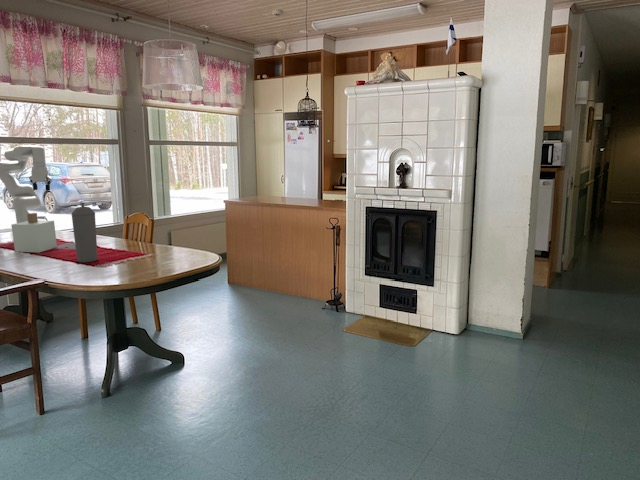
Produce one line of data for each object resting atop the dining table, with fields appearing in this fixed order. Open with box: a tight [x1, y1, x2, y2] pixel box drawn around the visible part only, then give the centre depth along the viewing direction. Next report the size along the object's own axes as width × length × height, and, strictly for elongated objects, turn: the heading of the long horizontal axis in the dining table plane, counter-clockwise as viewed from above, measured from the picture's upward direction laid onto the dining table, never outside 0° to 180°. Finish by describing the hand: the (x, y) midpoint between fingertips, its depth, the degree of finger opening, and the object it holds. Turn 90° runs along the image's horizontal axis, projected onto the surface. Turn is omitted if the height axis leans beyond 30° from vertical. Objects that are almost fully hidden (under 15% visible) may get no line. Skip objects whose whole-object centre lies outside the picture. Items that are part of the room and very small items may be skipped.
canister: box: [70, 202, 98, 263], centre depth 285 cm, size 13×13×35 cm
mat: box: [53, 241, 76, 250], centre depth 330 cm, size 20×20×1 cm
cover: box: [11, 212, 58, 253], centre depth 316 cm, size 17×17×24 cm
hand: (41, 190), depth 328 cm, fingers open, 9 cm apart
